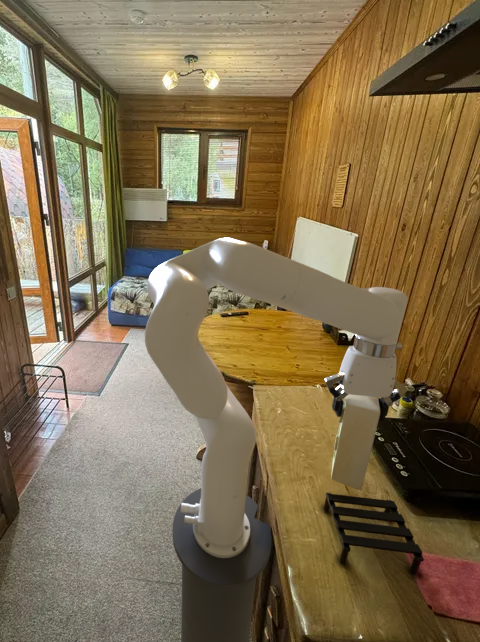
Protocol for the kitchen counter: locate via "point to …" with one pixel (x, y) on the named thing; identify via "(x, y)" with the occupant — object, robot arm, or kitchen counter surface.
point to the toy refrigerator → (355, 439)
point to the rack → (372, 527)
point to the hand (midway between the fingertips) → (357, 415)
